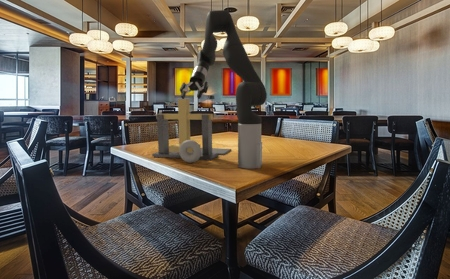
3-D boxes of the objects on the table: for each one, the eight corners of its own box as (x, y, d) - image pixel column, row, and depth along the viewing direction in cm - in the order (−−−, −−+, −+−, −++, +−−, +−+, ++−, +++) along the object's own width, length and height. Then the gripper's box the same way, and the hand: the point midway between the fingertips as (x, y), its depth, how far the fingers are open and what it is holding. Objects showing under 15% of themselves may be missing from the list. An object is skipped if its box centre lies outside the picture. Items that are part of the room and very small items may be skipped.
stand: (217, 156, 126) (217, 113, 124) (210, 160, 117) (210, 114, 114) (162, 153, 135) (161, 113, 132) (152, 156, 126) (150, 114, 123)
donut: (178, 163, 112) (177, 140, 110) (181, 161, 115) (180, 139, 114) (200, 164, 109) (199, 140, 108) (202, 162, 113) (202, 139, 111)
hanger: (215, 149, 126) (215, 98, 123) (208, 153, 117) (207, 98, 114) (164, 147, 134) (162, 99, 131) (153, 150, 125) (151, 99, 122)
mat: (231, 150, 142) (231, 149, 142) (223, 155, 129) (223, 153, 129) (197, 148, 148) (197, 147, 148) (186, 153, 134) (186, 151, 134)
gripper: (184, 71, 138) (174, 92, 128) (209, 70, 134) (201, 91, 124) (188, 82, 144) (179, 103, 134) (213, 81, 139) (205, 102, 130)
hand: (190, 97), depth 129 cm, fingers open, 8 cm apart
